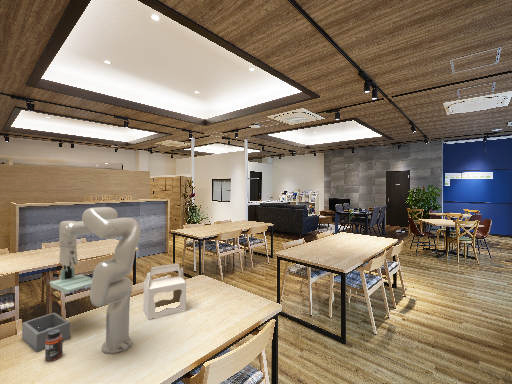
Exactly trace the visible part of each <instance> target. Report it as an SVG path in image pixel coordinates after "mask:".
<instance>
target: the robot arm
mask: <svg viewBox="0 0 512 384" xmlns="http://www.w3.org/2000/svg"><path fill="white" fill-rule="evenodd" d="M118 215H119V214H118V212H117V210H116V209H115V208H113V207H111V206H100V207H98V206H97V207H89V208H87V209H85V210H84V212H83V213H82V215H81V220H78V221H75V220H63V221H60V223H59V241H58V244H59V246H58V247H59V248H60V249H59V257H58V258H59V259H58V260H59V264H60V265H61V266H62V270H65V269H66V271H65V279H68V278H72V269H73V268H74V269H75V266H76V265H78V250H77V237H79V236H84V235H91V234H94V235H95V236H97V238H100V239H101V240H102V239H103V240H104V239H105V240H107V239H108V240H109V239H113V238H119V237H122V238H121V239H120V240H119V242H117V244H116V246H115V249H114V253H113V257H111V258H110V259H109V258H108V259H105V260H102V261H100V262H99V263H97V264H96V266H94V269H93V274H92V277H91V278H92V284H91V286H90V289H89V291H90V292H89V300H90V303H91V304H92V305H93V307H97V308H99V307H103V306H106V305H107V307H106V320H105V322H106V323H105V324H106V326H105V341H104V342H103V344H102V345H101V351H102V352H103V353H105V354H117V353H120V352H123V351H126V350H128V348H130V347H131V346H132V345H133V338H132V337H131V336H130V309H131V308H130V307H131V306H130V305H131V295H132V292H133V282H132V280H131V279H130V278H129V277H127V276H129V275H130V274H131V273H132V271H133V267H134V266H133V265H134V260H135V256H136V251H137V246H138V243H139V240H140V238H141V226H140V223H139V222H138V221H137V220H136V219H135V218H131V217H118Z"/></svg>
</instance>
